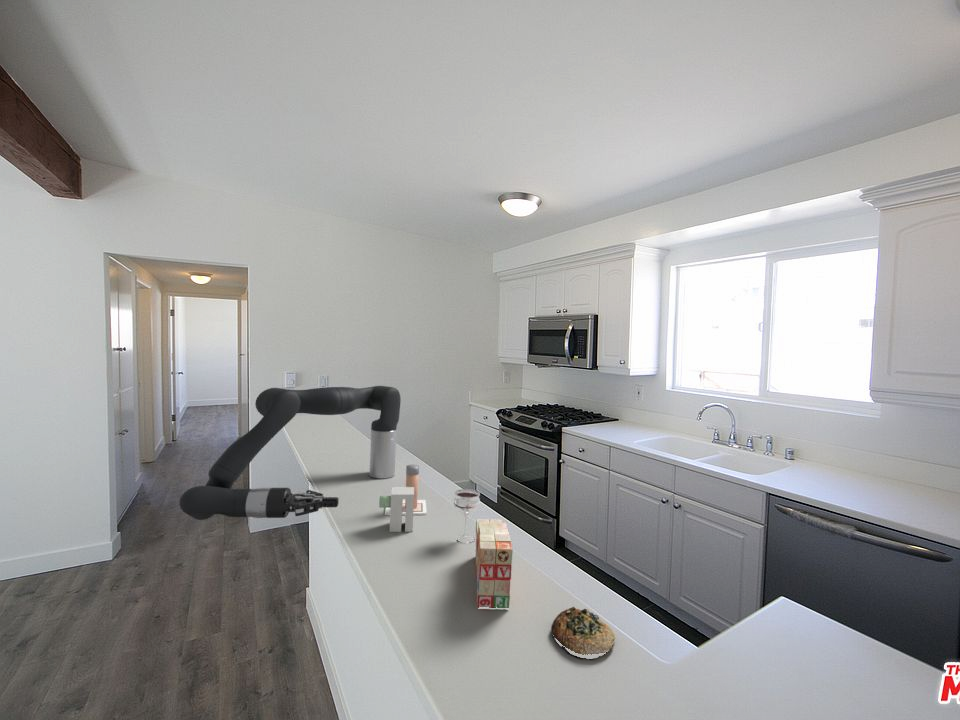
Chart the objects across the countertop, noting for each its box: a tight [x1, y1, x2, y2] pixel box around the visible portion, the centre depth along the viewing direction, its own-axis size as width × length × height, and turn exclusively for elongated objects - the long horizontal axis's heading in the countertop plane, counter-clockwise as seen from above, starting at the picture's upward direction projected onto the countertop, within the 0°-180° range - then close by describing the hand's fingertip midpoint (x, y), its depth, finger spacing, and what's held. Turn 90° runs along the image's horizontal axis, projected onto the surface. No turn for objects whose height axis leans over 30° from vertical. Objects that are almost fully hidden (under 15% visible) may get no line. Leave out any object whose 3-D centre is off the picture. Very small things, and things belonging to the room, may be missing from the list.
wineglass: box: [453, 488, 481, 544], centre depth 114 cm, size 7×7×12 cm
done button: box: [378, 495, 391, 509], centre depth 119 cm, size 3×4×3 cm
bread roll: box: [550, 606, 616, 655], centre depth 77 cm, size 11×11×5 cm
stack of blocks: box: [475, 518, 514, 609], centre depth 95 cm, size 21×6×12 cm, turn 2°
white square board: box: [384, 499, 428, 516], centre depth 134 cm, size 11×12×1 cm
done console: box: [389, 486, 414, 533], centre depth 120 cm, size 6×6×10 cm
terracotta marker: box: [404, 464, 420, 509], centre depth 133 cm, size 4×4×12 cm
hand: (338, 502), depth 117 cm, fingers closed
